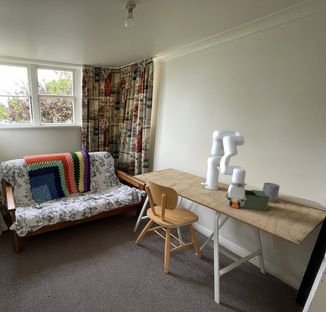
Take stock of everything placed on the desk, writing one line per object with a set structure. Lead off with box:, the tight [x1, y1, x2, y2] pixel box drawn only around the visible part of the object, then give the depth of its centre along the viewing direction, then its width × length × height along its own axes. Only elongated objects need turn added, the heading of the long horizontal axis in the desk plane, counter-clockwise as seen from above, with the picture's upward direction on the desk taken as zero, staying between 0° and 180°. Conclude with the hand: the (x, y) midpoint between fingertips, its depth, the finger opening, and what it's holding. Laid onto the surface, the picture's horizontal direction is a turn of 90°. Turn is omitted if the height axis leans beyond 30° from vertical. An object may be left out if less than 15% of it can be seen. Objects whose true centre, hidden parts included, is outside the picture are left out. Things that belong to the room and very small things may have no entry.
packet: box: [231, 201, 240, 209], centre depth 149 cm, size 6×4×3 cm, turn 154°
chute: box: [240, 189, 270, 212], centre depth 149 cm, size 14×13×11 cm
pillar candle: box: [262, 182, 281, 203], centre depth 158 cm, size 10×10×15 cm
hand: (234, 205), depth 149 cm, fingers closed on packet, 4 cm apart
